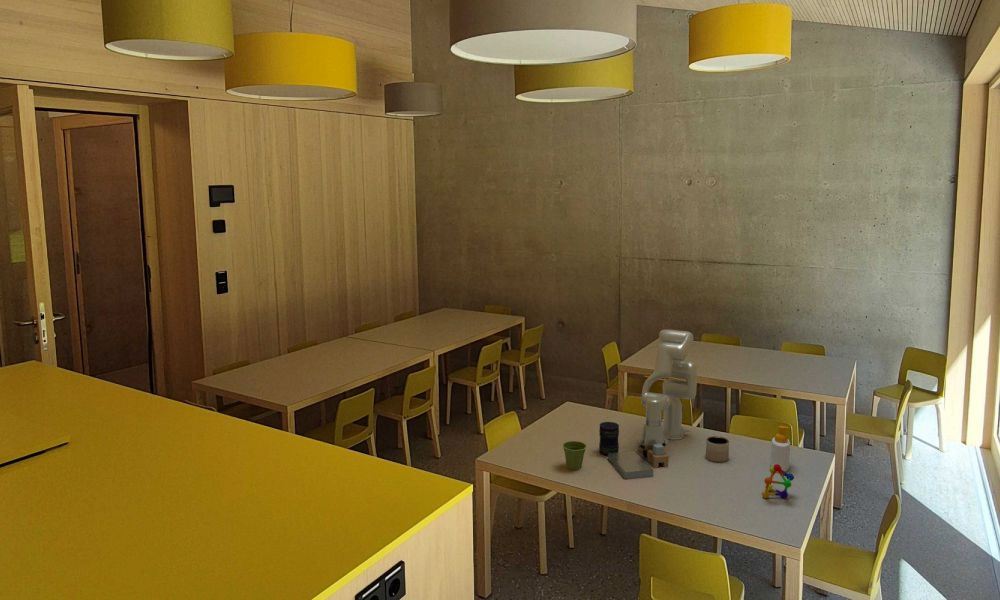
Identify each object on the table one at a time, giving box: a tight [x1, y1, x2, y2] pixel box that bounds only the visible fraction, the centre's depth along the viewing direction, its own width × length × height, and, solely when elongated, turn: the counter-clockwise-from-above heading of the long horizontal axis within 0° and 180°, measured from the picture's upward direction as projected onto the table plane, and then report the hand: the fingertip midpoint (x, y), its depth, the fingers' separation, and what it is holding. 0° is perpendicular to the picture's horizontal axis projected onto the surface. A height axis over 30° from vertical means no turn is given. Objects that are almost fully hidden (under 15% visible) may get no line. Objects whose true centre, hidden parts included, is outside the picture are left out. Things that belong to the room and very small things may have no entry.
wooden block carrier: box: [637, 442, 669, 469], centre depth 343 cm, size 22×7×6 cm, turn 10°
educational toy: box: [761, 464, 795, 499], centre depth 301 cm, size 16×13×15 cm
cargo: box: [653, 444, 665, 455], centre depth 336 cm, size 4×4×4 cm
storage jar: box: [598, 421, 620, 458], centre depth 350 cm, size 10×10×15 cm
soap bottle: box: [770, 425, 791, 472], centre depth 329 cm, size 13×8×20 cm, turn 160°
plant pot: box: [561, 440, 588, 471], centre depth 334 cm, size 12×12×11 cm
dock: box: [607, 450, 654, 480], centre depth 333 cm, size 14×24×3 cm, turn 10°
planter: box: [705, 435, 730, 463], centre depth 342 cm, size 11×11×10 cm
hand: (652, 456), depth 344 cm, fingers closed on wooden block carrier, 7 cm apart
